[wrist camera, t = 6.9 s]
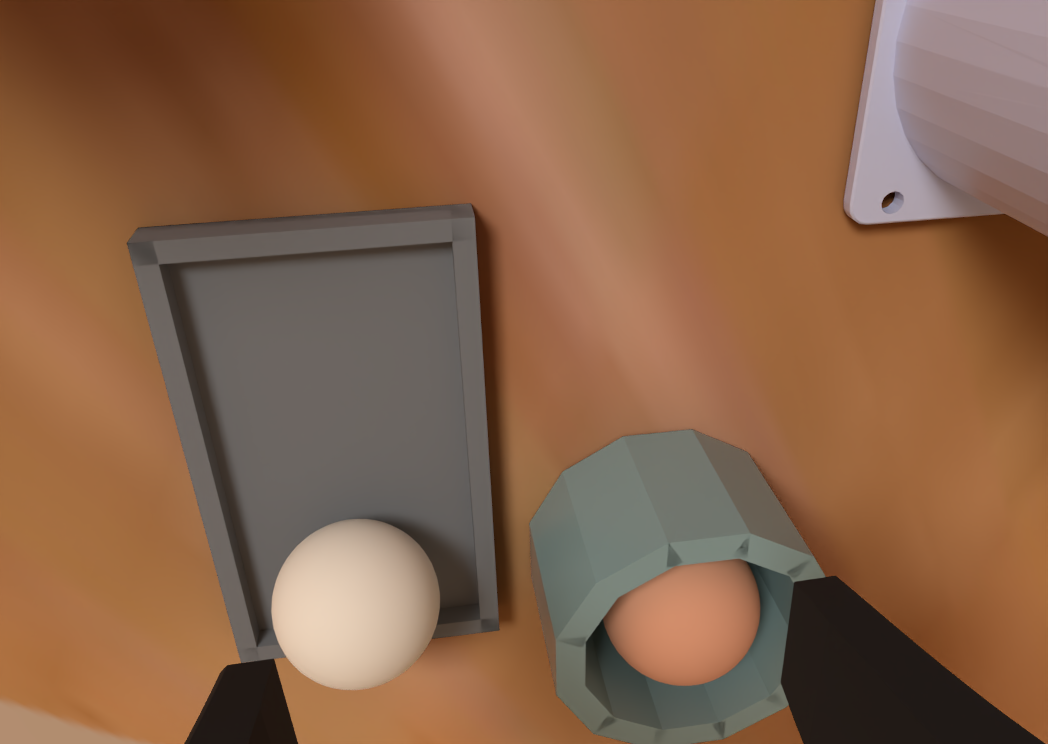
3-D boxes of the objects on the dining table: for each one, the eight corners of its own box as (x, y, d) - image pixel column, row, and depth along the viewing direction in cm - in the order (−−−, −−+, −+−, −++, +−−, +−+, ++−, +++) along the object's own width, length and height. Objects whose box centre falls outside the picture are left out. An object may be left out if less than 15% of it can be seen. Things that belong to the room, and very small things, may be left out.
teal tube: (784, 419, 23) (859, 520, 19) (757, 609, 26) (816, 726, 23) (526, 446, 22) (554, 556, 19) (533, 638, 26) (557, 762, 22)
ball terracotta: (689, 466, 23) (748, 571, 19) (748, 558, 25) (810, 668, 21) (558, 541, 23) (593, 657, 20) (626, 626, 25) (668, 744, 22)
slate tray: (471, 203, 19) (474, 216, 18) (495, 606, 25) (499, 630, 24) (138, 227, 18) (127, 243, 17) (245, 637, 24) (240, 663, 23)
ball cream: (429, 478, 22) (437, 589, 18) (441, 594, 24) (450, 715, 20) (267, 495, 21) (245, 612, 18) (294, 612, 23) (278, 738, 20)
